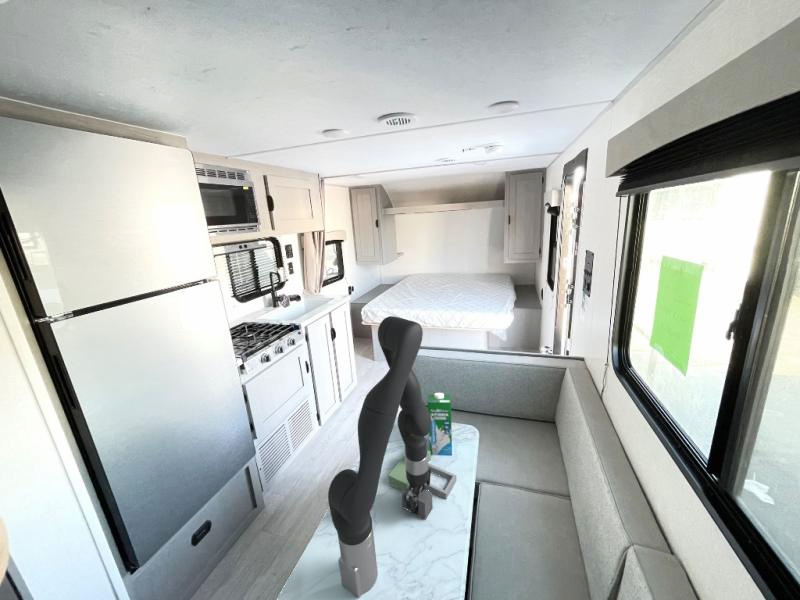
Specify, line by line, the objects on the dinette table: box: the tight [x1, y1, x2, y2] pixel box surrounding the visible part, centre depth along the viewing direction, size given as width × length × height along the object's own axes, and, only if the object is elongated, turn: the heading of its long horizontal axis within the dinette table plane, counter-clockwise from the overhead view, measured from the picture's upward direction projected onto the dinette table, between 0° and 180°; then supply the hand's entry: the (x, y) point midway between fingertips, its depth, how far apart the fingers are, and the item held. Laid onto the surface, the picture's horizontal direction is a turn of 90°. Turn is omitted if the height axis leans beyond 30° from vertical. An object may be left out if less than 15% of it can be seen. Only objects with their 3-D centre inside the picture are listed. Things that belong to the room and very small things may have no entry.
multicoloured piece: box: [388, 449, 457, 500], centre depth 117 cm, size 18×21×8 cm
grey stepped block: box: [401, 487, 433, 521], centre depth 106 cm, size 9×5×7 cm, turn 56°
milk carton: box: [427, 392, 453, 456], centre depth 129 cm, size 9×9×25 cm
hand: (419, 505), depth 106 cm, fingers open, 5 cm apart
